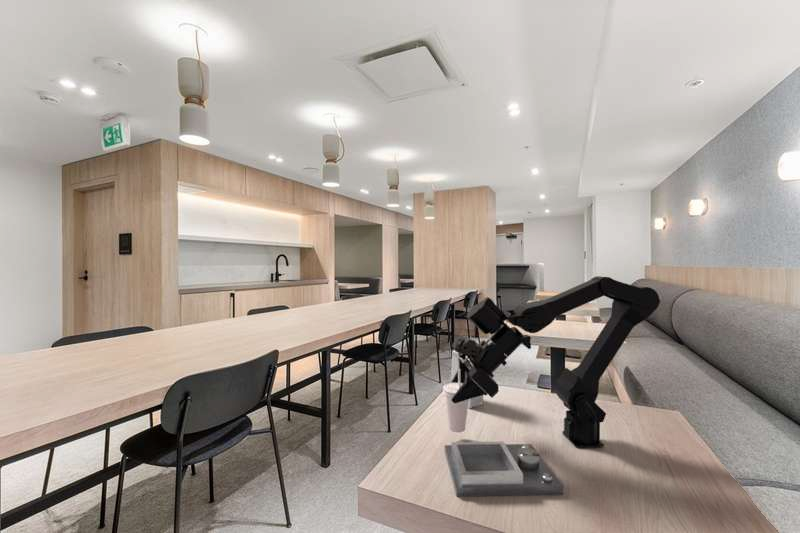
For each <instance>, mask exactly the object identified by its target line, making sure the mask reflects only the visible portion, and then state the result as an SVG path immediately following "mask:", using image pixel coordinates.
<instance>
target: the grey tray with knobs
mask: <svg viewBox="0 0 800 533" xmlns="http://www.w3.org/2000/svg"><path fill="white" fill-rule="evenodd" d="M444 455H445V459H446V462H447V465H448V469H449V472H450V476H451V481H452V484H453V488H454V491H455V495H456V497H499V496H500V497H501V496H502V497H503V496H506V497H507V496H512V497H513V496H557V495H558V496H561V495H564V486H563V484H562V483H561V480H559V479H558V477H557V476H556V475H555V474H554V472H553V471H552V469H551V468H550V466H548V464H547V462H546V461H545V460H544V459H543V458H542V456H541V455H540V453H539V452H538V451H537V450H536V448H535V447H534V445H533V444H532V443H522V444H521V443H517V444H514V443H513V444H512V443H510V444H507V443H505V442H504V441H451V444H447V445H446V444H444Z"/></svg>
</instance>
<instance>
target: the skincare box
mask: <svg viewBox="0 0 800 533" xmlns="http://www.w3.org/2000/svg"><path fill="white" fill-rule="evenodd" d="M458 358H459V359H460V360H462V359H463V358H460V357H459V355H458V352H456V351H455V350H454V349H452V350H451V369H450V370H451V373H450V382H451V381H452V380H453V378H454V376H455V374H456V372H457V371H458V368H459V363H458ZM481 403H483V404H484V395H482V396H478V397H474V398H471V399H469V402H468V409H472V407H473V408H475V407H474V406H476V407H478V406H477V405H479V404H481ZM479 406H480V405H479Z"/></svg>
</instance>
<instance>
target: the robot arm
mask: <svg viewBox="0 0 800 533" xmlns="http://www.w3.org/2000/svg"><path fill="white" fill-rule="evenodd" d="M601 297H606V298H608V299H611V300H613V301H612V303H611V315H610V317H609V319H608V321H606V324H605V325H604V327H602V330H601V331H600V333H599V334H598V336H597V337H596V339H595V340H594V342H593V344H592V345H591V347H590V348H589V350H588V351H587V353H586V354H585V355H584V357H583V358H582V360H581V361H580V363H579V365H577V367H575V368H573V369H569V368H568V367H565V368H564V369H563V370H562V374H561V375H560V377H559V378H557V379H556V380H555V382H556V386H555V393H556V396H557V398H558V399H560V400H561V401H562V402H563V406H564V407H565V408H567V409H568V410H566V411H565V417H564V419H563V431H562V434H563V437H565V438H567V440H568V441H569V442H570V443H571V444H572V445H573V446H574V447H575V448H605V444H604V442H602V441H601V423H603V422H604V420H605V418H606V415H607V413H606V412H605V410H604V409H602V407H600V406H599V405H598V404H597V403H596V401H597V399H598V396H599V392H600V391H599V388H600V379H601V378H602V376H603V375H604V373H605V372H606V370H607V368H608V367H609V366H610V364H611V363H612V361H613V360H614V358H615V356H616V355H617V354H618V352H619V350H620V349H621V347H622V346H623V344H624V342H625V341H626V340H627V338H628V336H629V335H630V333H631V332H632V330H633V329H634V328H635V327H636V326H638V325H639V324H641V323H642V322H644V321H646V320H648V319H649V318H650V317H651V316H652V314H654V312H655V311H657V310H658V308H659V306H660V304H661V299H660V296H659V294H658V292H657V291H656V290H655V289H654V288H652V287H649V286H639V285H632V284H628V283H625V282H622V281H620V280H619V281H618V280H616V279H614V278H612V277H609V276H598V275H596V276H594V277H592V278H591V279H590V280H587V281H585V282H582V283H581V284H578V285H576V286H574V287H572V288H569V289H567V290H565V291H563V292H560V293H558V294H556V295H554V296H551V297H548V298H546V299H541V300H535V301H534V300H533V301H530V302H526V303H522V304H518V305H517V306H515V308H513V309H509V310H507V309H506V310H501V309H500V308H499V307H498V305H496V304H495V302H494V300H493V299H491V298H490V297H488V296H486V297H485V298H484V299H483V300H481V301H479V302H477V303H476V304H475V305H473V306H472V307H471V309H470V310H469V311H468V312H467V314H466V318H467V319H468V320H469V321H470V322H471V323H472V324H473V325H474V326H475V327H476V328H477V329H479V331H480V332H482V333H483V335H487V334H489V335H491V337H490V338H489V339H488V340H484V339H482V340H481V341H480V342H476V340H474V339H471V338H470V337H465V336H463V335H461V334H457V335H456V336H455V339H454V341H453V343H452V345H451V346H452V348H453V350H455V351H456V352H458V355H459V357H460V358H463V359H462V360H460V359H459V358H458V363H459V368H458V369H461V383H463V384H462V385H461V387H460V388H459V389H458V391H457V392H456V393H455V395H454V396H453V398H452V399H451V400H452V402H453V403H458V402H461V401H464V400H467V399H471V398H474V397H478V396H482V395H483V396H489V397H490V398H492V399H493V398H494V397H495V396H496V395H497V394H498V392H499V384H498V383H497V381H496V380H495V379H494V377H495V375H494V372H495V371H496V370H497V369H498V368H499V367H500V366H501V365H502V366H503V367H505V366H506V365H507V364H508V362H507V361H506V360H507V359H508V358H509V357H510V356H511V355H512V354H513V353H514V352H515V351H516V350H517V349H518V348H519V347H520V346H521V345H523V346H524V348H525V347H526V348H527V349H528V350H531V348H532V344H531V338H532V337H531V336H530V335H529V333H530V334H536V333H538V332H540V331H542V330H543V329H545V328H547V327H548V326H549V325H551V324H552V323H553V322H554V321H555V319H557V318H558V317H560V316H561V315H563V314H565V313H568V312H570V311H572V310H575V309H576V308H580V307H582V306H584V305H585V304H588V303H590V302H592V301H593V302H594V301H596V300H598V299H600V298H601ZM505 321H506V322H508V323H509V324H511V325H512V327H510V326H509V325H508V324H507V323H506V322H505ZM518 328H520V329H521V330H523V331H525V332H526V333H528V334H523V333H522V332H521V331H520V330H519V329H518ZM450 383H458V371H457V372H456V374H455V376H454V378H453V380H452V381H451V380H450Z"/></svg>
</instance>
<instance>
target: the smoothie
mask: <svg viewBox="0 0 800 533" xmlns="http://www.w3.org/2000/svg"><path fill="white" fill-rule="evenodd" d="M462 384H463V383H461V369H458V383H451V382H449V383H446V384H444V385H443V387H442V392H443V393H444V397H445V398H444V400H445V407H446V414H447V423H448V430H449V431H451V432H453V433H458V434H459V433H463V432H465V431H466V425H467V418H468V409H469V408H468V402H469V399H467V400H464V401H461V402H458V403H453V402H452V400H451V399H452V398H453V396H454V395H455V393H456V392H457V391H458V389H459V388H460V387H461V385H462Z"/></svg>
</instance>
